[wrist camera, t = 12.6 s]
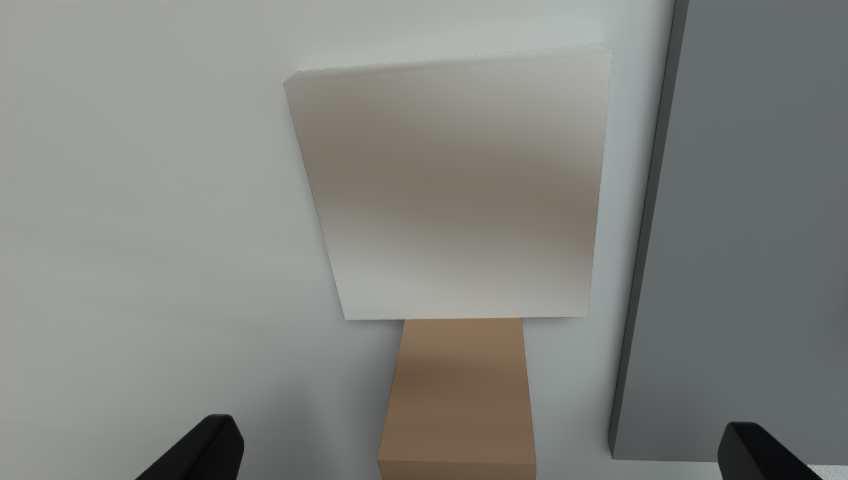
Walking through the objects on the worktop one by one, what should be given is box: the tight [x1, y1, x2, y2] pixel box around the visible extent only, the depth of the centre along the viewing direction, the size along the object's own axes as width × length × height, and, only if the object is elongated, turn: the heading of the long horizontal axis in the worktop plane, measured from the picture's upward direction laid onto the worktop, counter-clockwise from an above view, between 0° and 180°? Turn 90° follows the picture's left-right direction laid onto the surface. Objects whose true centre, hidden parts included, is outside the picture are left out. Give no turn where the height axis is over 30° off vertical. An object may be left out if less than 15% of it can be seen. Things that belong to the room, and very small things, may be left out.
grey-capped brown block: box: [283, 43, 613, 480], centre depth 9 cm, size 10×5×4 cm, turn 6°
